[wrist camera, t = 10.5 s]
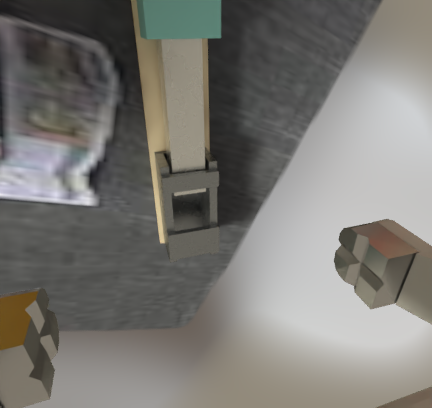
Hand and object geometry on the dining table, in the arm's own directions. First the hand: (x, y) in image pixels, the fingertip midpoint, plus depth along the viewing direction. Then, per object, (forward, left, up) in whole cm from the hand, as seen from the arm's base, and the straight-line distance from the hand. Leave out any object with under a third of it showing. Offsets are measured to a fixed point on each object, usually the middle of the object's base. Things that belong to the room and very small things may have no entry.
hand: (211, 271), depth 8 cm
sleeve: (+5, -15, -33) cm, 37 cm away
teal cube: (+5, +8, -33) cm, 34 cm away
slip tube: (+5, -2, -31) cm, 32 cm away
